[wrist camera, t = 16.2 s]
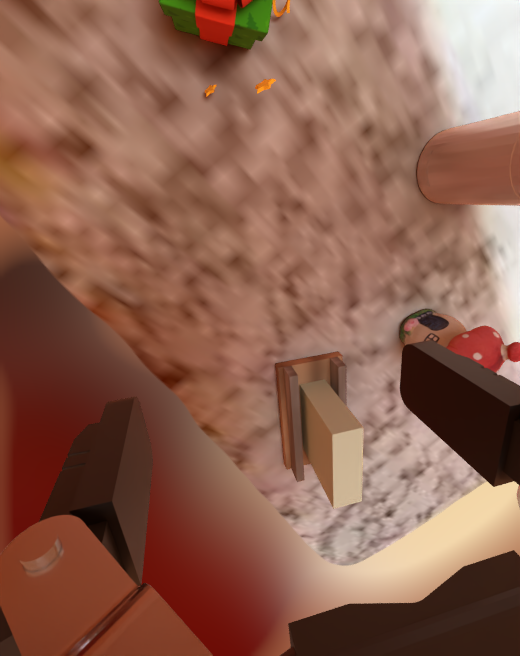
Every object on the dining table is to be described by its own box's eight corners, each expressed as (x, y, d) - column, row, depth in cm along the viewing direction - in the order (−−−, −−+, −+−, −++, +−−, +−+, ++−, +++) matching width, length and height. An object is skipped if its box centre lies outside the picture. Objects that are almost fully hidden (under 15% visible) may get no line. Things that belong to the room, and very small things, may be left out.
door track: (338, 351, 53) (351, 364, 49) (339, 449, 60) (351, 468, 56) (275, 363, 51) (283, 378, 47) (284, 462, 58) (292, 483, 54)
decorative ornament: (445, 300, 54) (536, 335, 40) (447, 336, 57) (533, 381, 43) (392, 319, 53) (466, 361, 40) (396, 355, 56) (467, 406, 42)
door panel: (324, 379, 53) (363, 427, 42) (326, 442, 57) (361, 501, 46) (299, 384, 52) (332, 434, 41) (303, 448, 56) (333, 508, 45)
